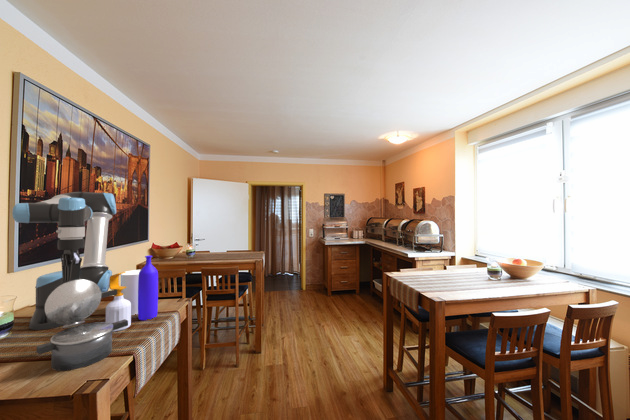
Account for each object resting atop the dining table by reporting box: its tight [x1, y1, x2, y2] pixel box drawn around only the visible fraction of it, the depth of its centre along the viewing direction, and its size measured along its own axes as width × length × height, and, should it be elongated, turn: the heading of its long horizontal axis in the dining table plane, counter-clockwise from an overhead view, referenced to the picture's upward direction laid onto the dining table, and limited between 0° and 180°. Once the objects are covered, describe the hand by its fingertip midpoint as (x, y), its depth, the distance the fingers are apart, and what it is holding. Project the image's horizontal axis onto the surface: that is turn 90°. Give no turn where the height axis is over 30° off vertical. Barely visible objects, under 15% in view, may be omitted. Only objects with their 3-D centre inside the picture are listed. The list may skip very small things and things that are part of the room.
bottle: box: [137, 255, 159, 321], centre depth 129 cm, size 8×8×30 cm
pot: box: [36, 319, 128, 372], centre depth 94 cm, size 17×25×9 cm, turn 150°
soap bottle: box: [105, 271, 132, 333], centre depth 118 cm, size 9×9×25 cm
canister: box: [120, 268, 142, 316], centre depth 139 cm, size 14×14×20 cm
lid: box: [45, 279, 117, 330], centre depth 100 cm, size 17×22×2 cm
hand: (70, 301), depth 99 cm, fingers closed
